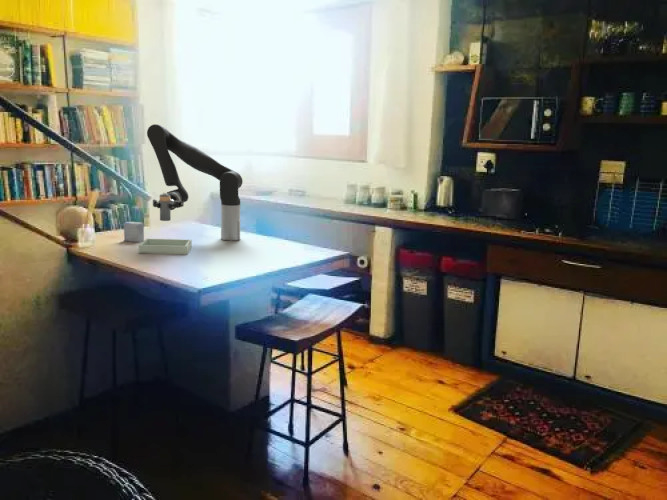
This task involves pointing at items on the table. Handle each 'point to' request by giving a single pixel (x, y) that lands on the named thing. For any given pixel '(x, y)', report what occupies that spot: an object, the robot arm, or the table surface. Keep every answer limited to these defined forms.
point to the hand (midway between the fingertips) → (164, 205)
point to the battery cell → (165, 207)
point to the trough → (165, 246)
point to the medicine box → (134, 231)
